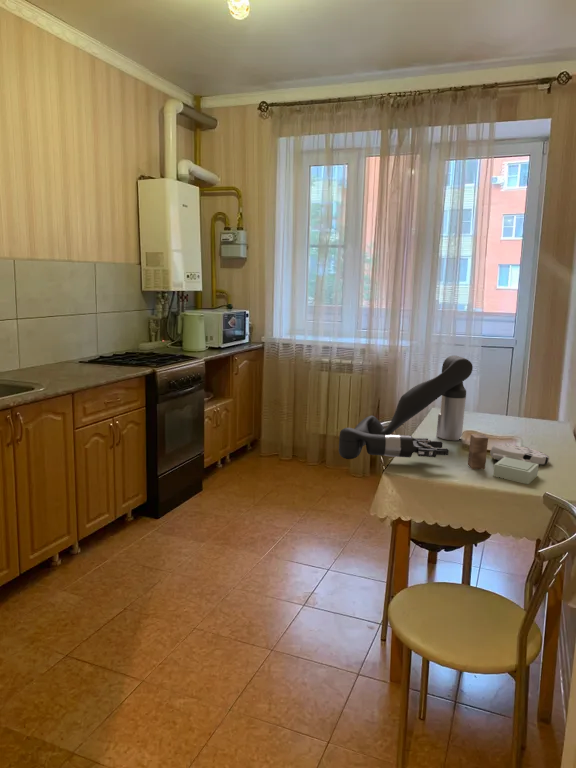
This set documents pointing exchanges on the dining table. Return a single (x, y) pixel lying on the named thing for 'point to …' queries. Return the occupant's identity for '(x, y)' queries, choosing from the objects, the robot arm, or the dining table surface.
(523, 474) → the stand
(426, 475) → the dining table surface
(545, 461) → the toy
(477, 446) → the block
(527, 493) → the dining table surface
